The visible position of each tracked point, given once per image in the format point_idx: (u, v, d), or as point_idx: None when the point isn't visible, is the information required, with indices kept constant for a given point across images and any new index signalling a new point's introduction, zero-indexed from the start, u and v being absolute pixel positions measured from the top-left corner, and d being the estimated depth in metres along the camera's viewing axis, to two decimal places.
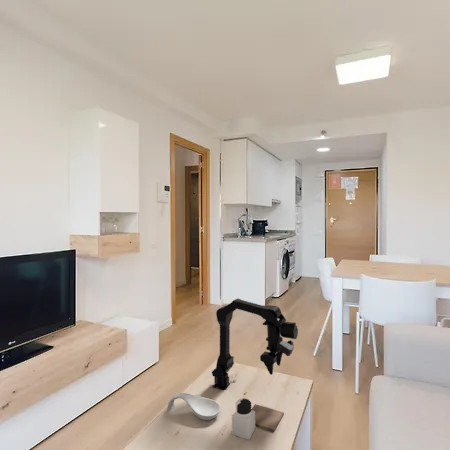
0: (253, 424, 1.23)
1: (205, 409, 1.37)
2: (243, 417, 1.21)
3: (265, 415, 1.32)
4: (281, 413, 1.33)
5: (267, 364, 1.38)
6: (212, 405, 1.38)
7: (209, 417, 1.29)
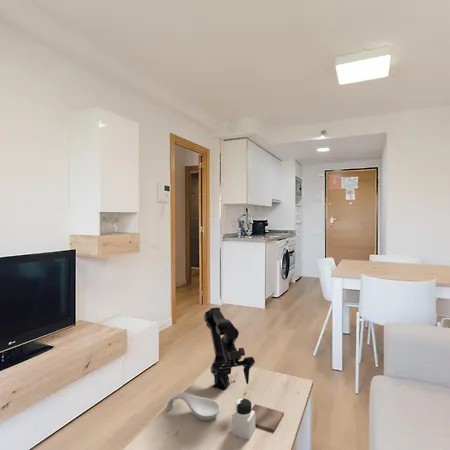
0: (253, 424, 1.23)
1: (204, 409, 1.37)
2: (243, 417, 1.21)
3: (265, 415, 1.32)
4: (281, 413, 1.33)
5: (220, 377, 1.34)
6: (211, 405, 1.38)
7: (208, 417, 1.29)
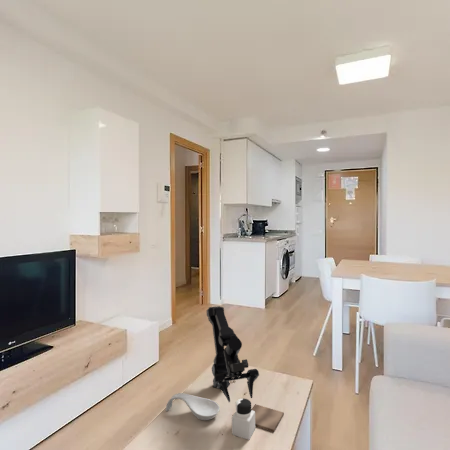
0: (253, 424, 1.23)
1: (204, 409, 1.36)
2: (243, 417, 1.21)
3: (265, 415, 1.32)
4: (281, 413, 1.33)
5: (223, 390, 1.29)
6: (210, 405, 1.38)
7: (208, 417, 1.29)
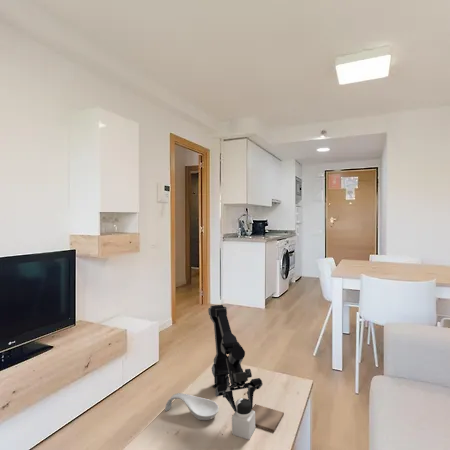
0: (253, 424, 1.23)
1: (203, 409, 1.36)
2: (243, 417, 1.21)
3: (265, 415, 1.32)
4: (281, 413, 1.33)
5: (229, 400, 1.25)
6: (210, 405, 1.38)
7: (207, 417, 1.28)
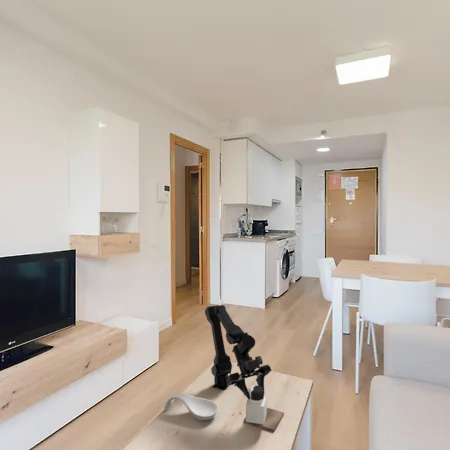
0: (265, 409, 1.26)
1: (202, 410, 1.36)
2: (257, 403, 1.23)
3: None
4: (281, 413, 1.33)
5: (241, 388, 1.27)
6: (209, 405, 1.38)
7: (206, 417, 1.28)
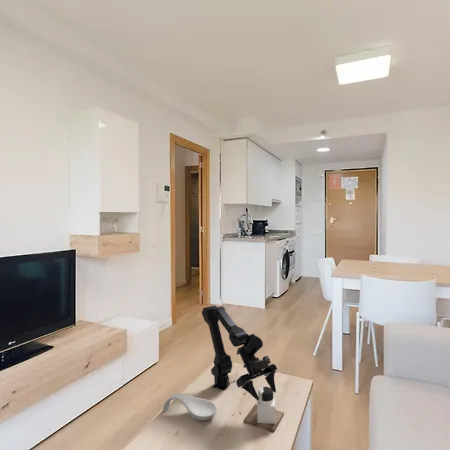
0: None
1: (201, 410, 1.36)
2: (268, 404, 1.27)
3: None
4: (281, 413, 1.33)
5: (249, 390, 1.29)
6: (208, 406, 1.37)
7: (205, 418, 1.28)
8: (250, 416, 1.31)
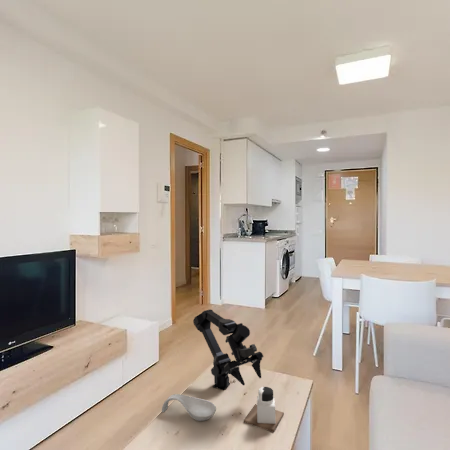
0: None
1: (200, 410, 1.36)
2: (268, 404, 1.27)
3: None
4: (281, 413, 1.33)
5: (235, 375, 1.37)
6: (207, 406, 1.37)
7: (205, 418, 1.28)
8: (250, 416, 1.31)
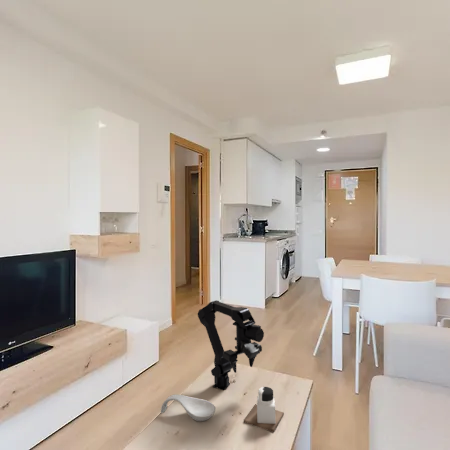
0: None
1: (199, 410, 1.36)
2: (268, 404, 1.27)
3: None
4: (281, 413, 1.33)
5: (231, 362, 1.44)
6: (206, 406, 1.37)
7: (204, 418, 1.28)
8: (250, 416, 1.31)
